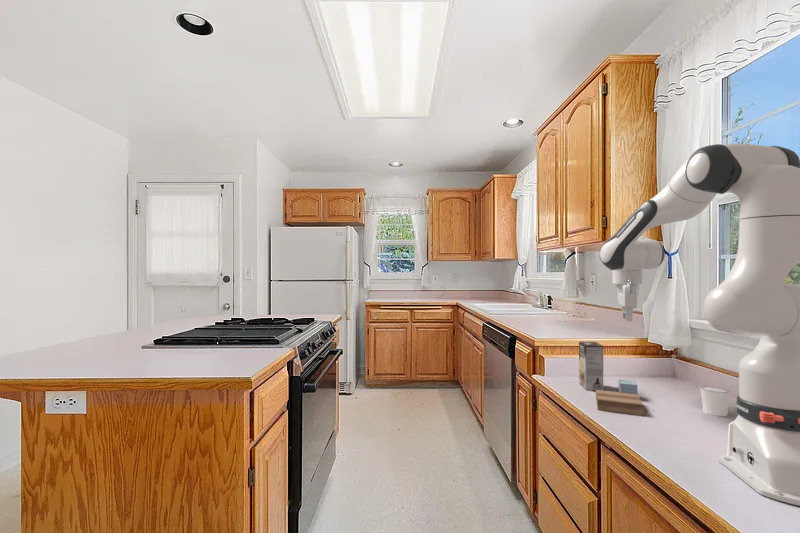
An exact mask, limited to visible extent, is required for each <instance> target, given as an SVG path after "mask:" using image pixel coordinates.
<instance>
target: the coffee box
mask: <svg viewBox="0 0 800 533" xmlns="http://www.w3.org/2000/svg"><path fill="white" fill-rule="evenodd" d="M578 374H579V376H578V378H579V379H578V380H579V381H578V382H579V385H581V387H582V388H583V389H584V390H585V391H596V390H604V345H603V344H600V343H599V342H597V341H578Z"/></svg>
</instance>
